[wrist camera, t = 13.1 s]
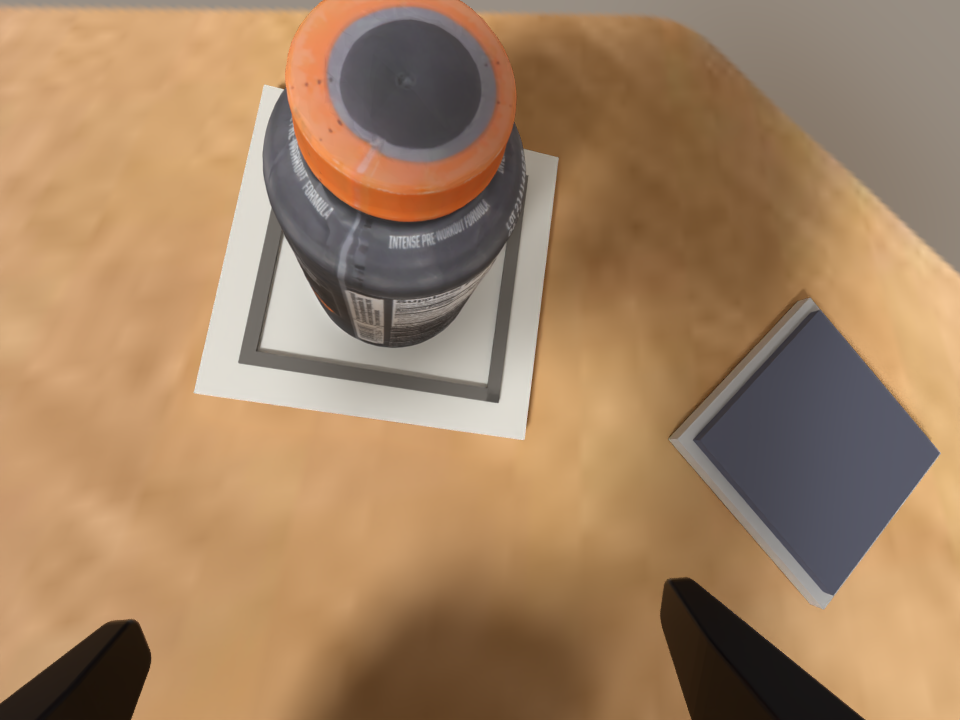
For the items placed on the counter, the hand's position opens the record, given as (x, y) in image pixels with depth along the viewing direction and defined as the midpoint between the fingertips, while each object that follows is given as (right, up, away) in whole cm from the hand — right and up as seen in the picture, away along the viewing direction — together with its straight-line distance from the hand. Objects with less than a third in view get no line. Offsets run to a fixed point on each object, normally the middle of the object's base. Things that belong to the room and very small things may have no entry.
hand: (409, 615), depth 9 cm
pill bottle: (-2, +8, +11) cm, 14 cm away
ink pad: (+16, 0, +14) cm, 21 cm away
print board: (-2, +8, +12) cm, 14 cm away
